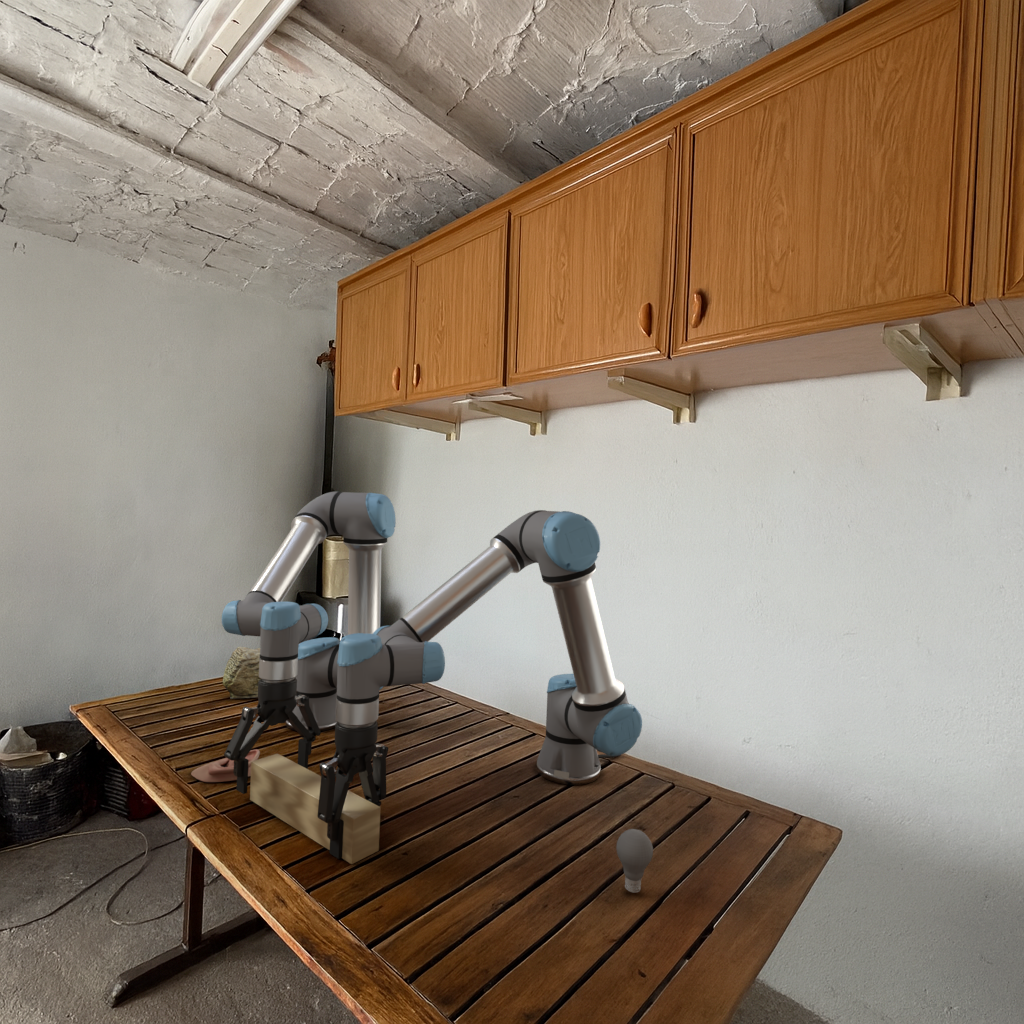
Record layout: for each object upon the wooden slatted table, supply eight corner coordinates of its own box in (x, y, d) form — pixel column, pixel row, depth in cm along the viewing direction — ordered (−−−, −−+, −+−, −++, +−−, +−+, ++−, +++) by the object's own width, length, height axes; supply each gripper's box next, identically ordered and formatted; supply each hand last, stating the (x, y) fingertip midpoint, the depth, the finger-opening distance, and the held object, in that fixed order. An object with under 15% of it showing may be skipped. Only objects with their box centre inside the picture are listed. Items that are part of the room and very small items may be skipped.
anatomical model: (182, 760, 139) (216, 741, 150) (181, 778, 139) (216, 758, 150) (236, 768, 136) (267, 748, 147) (235, 786, 136) (266, 765, 147)
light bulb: (610, 879, 108) (613, 822, 108) (644, 879, 109) (647, 822, 109) (619, 902, 102) (622, 840, 102) (655, 901, 103) (658, 840, 103)
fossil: (218, 695, 195) (220, 647, 195) (278, 685, 208) (279, 640, 207) (228, 703, 189) (230, 653, 188) (289, 692, 201) (290, 645, 201)
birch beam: (249, 799, 131) (251, 761, 131) (276, 790, 136) (277, 753, 136) (351, 864, 110) (353, 819, 110) (378, 850, 115) (380, 806, 114)
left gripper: (319, 664, 143) (315, 758, 143) (208, 685, 123) (203, 794, 123) (339, 671, 138) (335, 768, 138) (228, 694, 118) (223, 807, 118)
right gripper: (384, 704, 124) (379, 821, 124) (298, 728, 109) (292, 861, 110) (410, 713, 119) (405, 835, 120) (324, 740, 104) (318, 879, 105)
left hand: (273, 781), depth 130 cm, fingers open, 13 cm apart
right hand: (351, 847), depth 115 cm, fingers closed on birch beam, 6 cm apart
